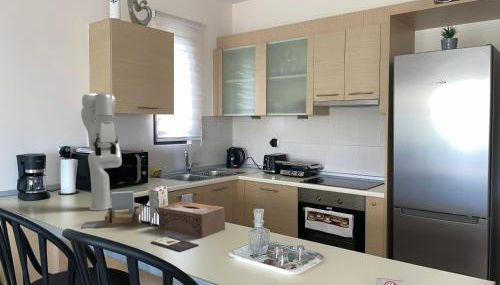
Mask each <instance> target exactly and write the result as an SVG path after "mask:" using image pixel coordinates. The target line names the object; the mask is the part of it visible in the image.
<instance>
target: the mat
mask: <svg viewBox="0 0 500 285" xmlns="http://www.w3.org/2000/svg"><path fill="white" fill-rule="evenodd" d="M91 228H105V219H103V220H92V221H89V220H87V221H85V222H84V223H83V225H82V226H81V229H91Z"/></svg>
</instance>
